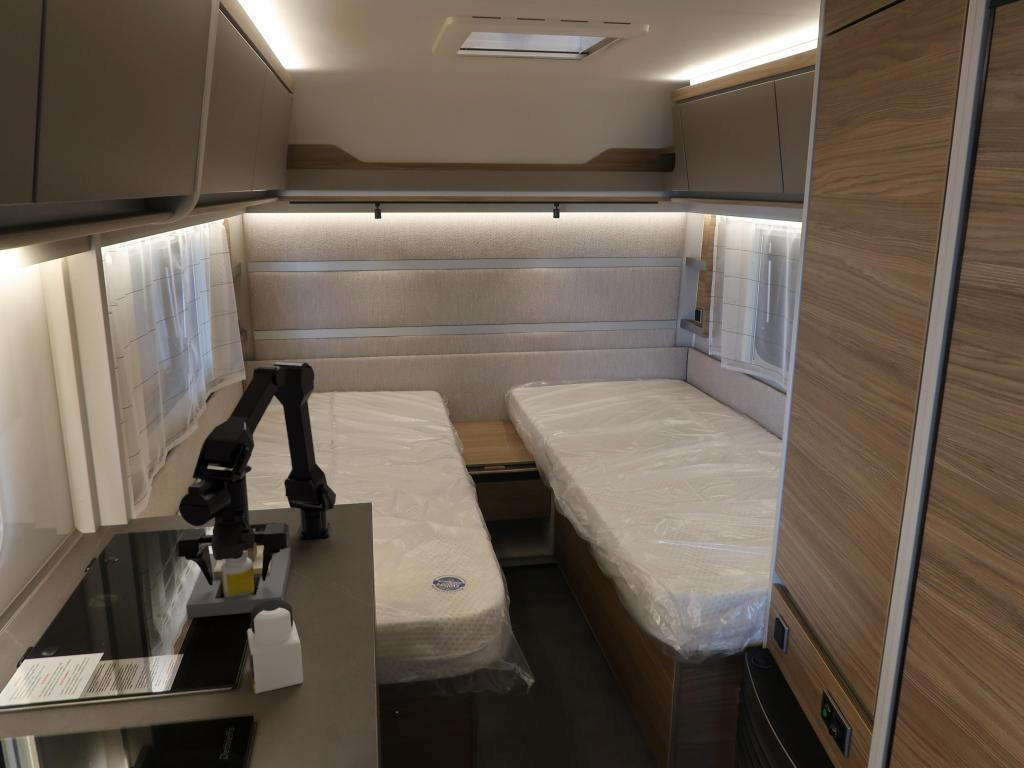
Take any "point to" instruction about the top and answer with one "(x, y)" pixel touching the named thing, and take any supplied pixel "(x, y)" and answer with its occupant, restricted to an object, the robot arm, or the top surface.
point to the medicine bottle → (274, 647)
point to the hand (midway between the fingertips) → (238, 582)
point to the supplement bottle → (238, 577)
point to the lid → (253, 554)
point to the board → (211, 604)
